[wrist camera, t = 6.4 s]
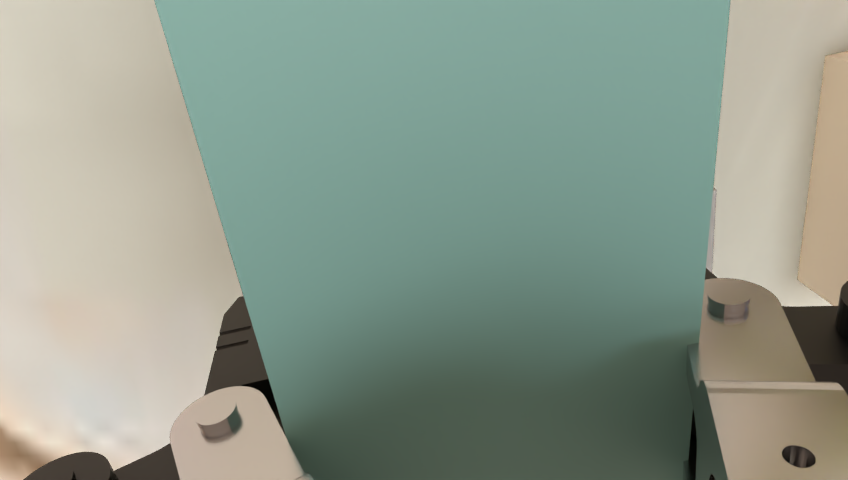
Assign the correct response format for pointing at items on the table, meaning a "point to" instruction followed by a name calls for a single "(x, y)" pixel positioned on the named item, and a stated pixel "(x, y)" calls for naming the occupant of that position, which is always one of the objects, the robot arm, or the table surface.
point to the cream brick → (828, 189)
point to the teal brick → (465, 223)
